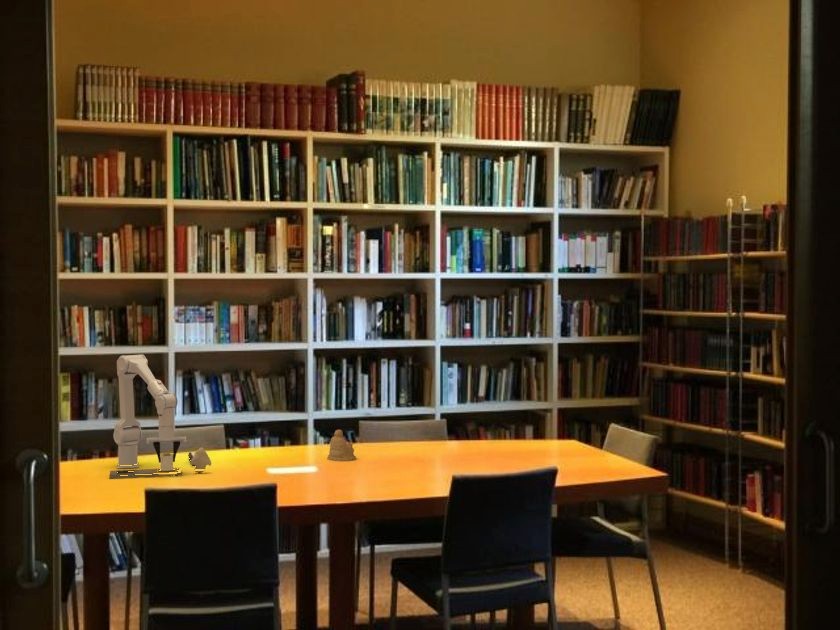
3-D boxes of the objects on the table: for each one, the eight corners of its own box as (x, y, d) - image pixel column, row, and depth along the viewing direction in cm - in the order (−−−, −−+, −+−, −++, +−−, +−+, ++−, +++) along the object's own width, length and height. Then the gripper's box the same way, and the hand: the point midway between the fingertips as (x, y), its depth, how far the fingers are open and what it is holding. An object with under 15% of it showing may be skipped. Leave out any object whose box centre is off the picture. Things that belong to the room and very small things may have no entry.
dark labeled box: (207, 460, 437) (207, 449, 436) (214, 470, 413) (214, 459, 413) (171, 461, 432) (171, 451, 432) (176, 472, 408) (176, 461, 408)
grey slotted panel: (110, 474, 400) (110, 470, 400) (181, 472, 406) (181, 467, 406) (109, 478, 392) (109, 474, 392) (182, 475, 398) (182, 471, 398)
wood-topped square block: (160, 468, 402) (160, 452, 402) (172, 468, 403) (172, 452, 403) (160, 470, 398) (160, 454, 398) (173, 470, 399) (173, 454, 399)
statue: (316, 434, 432) (331, 424, 440) (323, 466, 436) (337, 455, 444) (340, 437, 425) (354, 427, 433) (346, 469, 429) (361, 458, 437)
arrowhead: (190, 474, 402) (190, 447, 401) (189, 473, 404) (189, 446, 404) (211, 473, 404) (211, 447, 403) (211, 472, 406) (211, 446, 406)
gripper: (146, 427, 395) (146, 464, 395) (186, 426, 398) (186, 462, 399) (146, 425, 401) (146, 461, 402) (186, 424, 405) (186, 459, 405)
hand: (166, 461), depth 401 cm, fingers closed on wood-topped square block, 4 cm apart
